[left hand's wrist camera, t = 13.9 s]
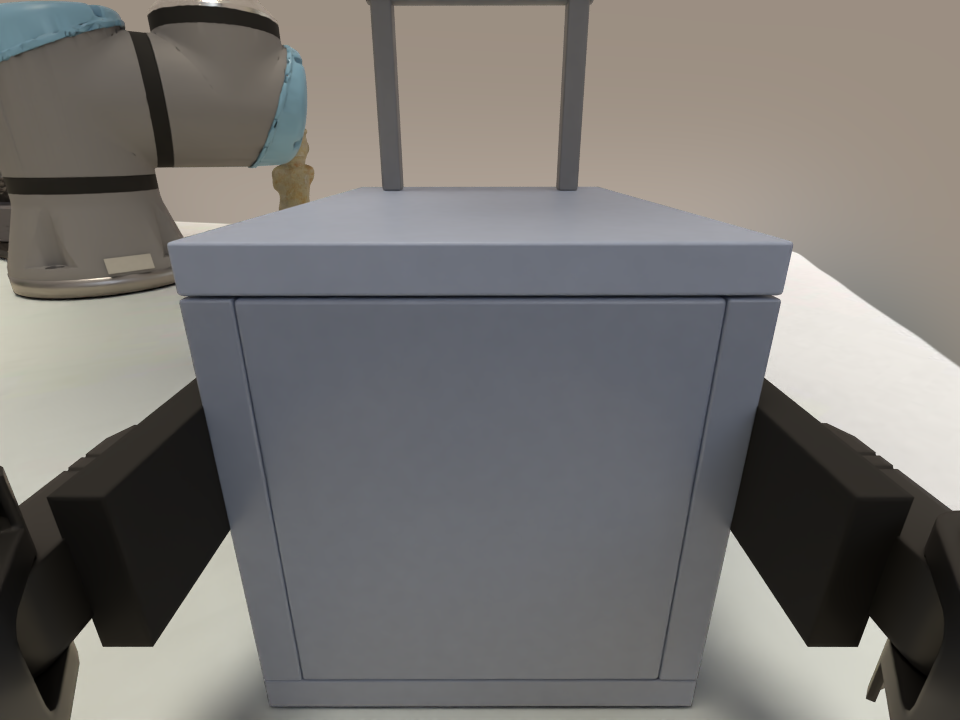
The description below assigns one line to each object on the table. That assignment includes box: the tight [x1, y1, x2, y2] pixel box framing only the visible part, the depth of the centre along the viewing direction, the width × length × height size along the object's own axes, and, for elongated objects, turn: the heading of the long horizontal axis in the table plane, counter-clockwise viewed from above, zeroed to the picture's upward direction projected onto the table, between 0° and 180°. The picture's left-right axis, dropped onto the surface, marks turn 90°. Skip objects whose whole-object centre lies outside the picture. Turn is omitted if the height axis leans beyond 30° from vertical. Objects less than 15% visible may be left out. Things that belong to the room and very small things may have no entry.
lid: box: [167, 0, 793, 296], centre depth 13 cm, size 14×10×8 cm
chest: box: [180, 295, 781, 706], centre depth 17 cm, size 14×10×10 cm
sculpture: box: [272, 129, 314, 211], centre depth 74 cm, size 6×7×15 cm
